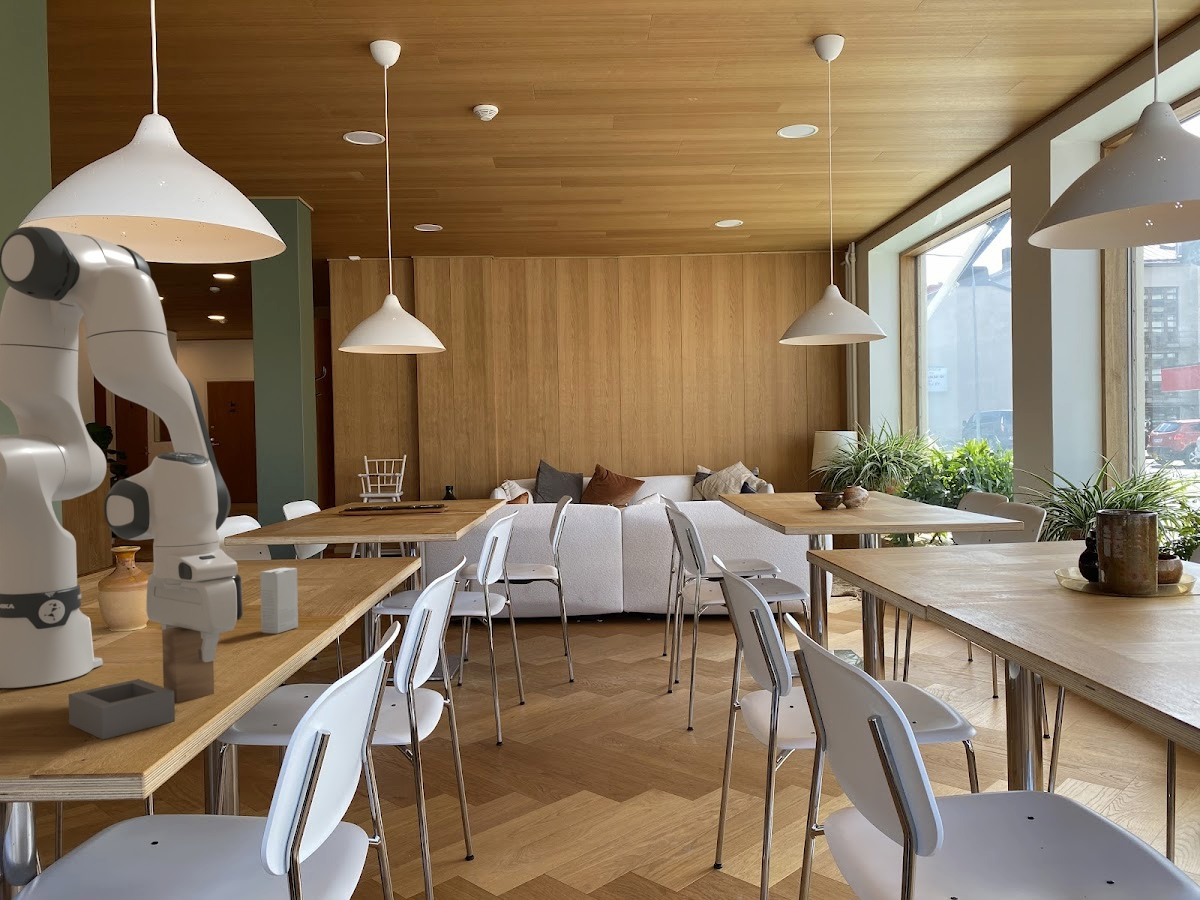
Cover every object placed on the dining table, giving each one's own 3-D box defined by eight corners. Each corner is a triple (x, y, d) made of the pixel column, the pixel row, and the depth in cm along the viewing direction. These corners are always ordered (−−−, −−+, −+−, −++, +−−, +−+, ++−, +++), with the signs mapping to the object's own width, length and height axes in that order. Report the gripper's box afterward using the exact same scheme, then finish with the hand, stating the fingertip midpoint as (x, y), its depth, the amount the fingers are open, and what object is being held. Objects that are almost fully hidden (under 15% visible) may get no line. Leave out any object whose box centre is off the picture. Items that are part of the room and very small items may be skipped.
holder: (69, 724, 117) (68, 694, 117) (139, 707, 124) (138, 678, 124) (103, 739, 111) (102, 707, 111) (174, 720, 118) (174, 691, 118)
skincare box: (281, 626, 178) (280, 566, 178) (299, 628, 176) (298, 567, 176) (259, 633, 172) (258, 571, 172) (277, 634, 170) (276, 572, 170)
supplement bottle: (247, 615, 191) (246, 559, 191) (235, 621, 184) (234, 564, 184) (215, 615, 190) (214, 560, 190) (202, 622, 184) (200, 565, 183)
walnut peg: (163, 698, 129) (162, 629, 129) (200, 689, 133) (199, 623, 133) (176, 702, 126) (175, 633, 126) (214, 693, 130) (212, 626, 130)
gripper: (133, 561, 133) (136, 652, 133) (200, 570, 121) (204, 671, 121) (174, 556, 138) (177, 644, 138) (244, 564, 126) (247, 661, 126)
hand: (191, 657), depth 129 cm, fingers open, 8 cm apart
